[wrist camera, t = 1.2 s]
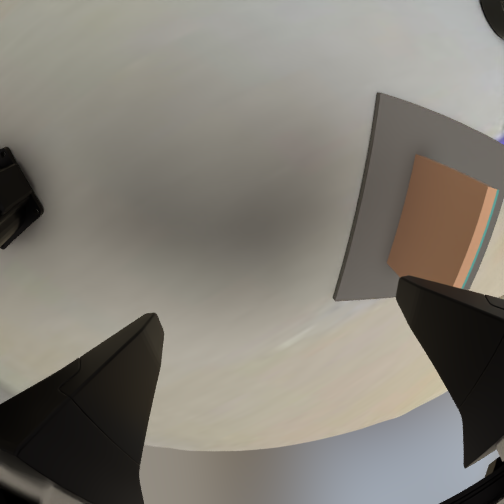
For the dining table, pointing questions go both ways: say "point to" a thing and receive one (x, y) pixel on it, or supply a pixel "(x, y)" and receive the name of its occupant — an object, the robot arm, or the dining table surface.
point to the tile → (441, 223)
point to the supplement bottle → (495, 15)
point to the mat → (396, 186)
